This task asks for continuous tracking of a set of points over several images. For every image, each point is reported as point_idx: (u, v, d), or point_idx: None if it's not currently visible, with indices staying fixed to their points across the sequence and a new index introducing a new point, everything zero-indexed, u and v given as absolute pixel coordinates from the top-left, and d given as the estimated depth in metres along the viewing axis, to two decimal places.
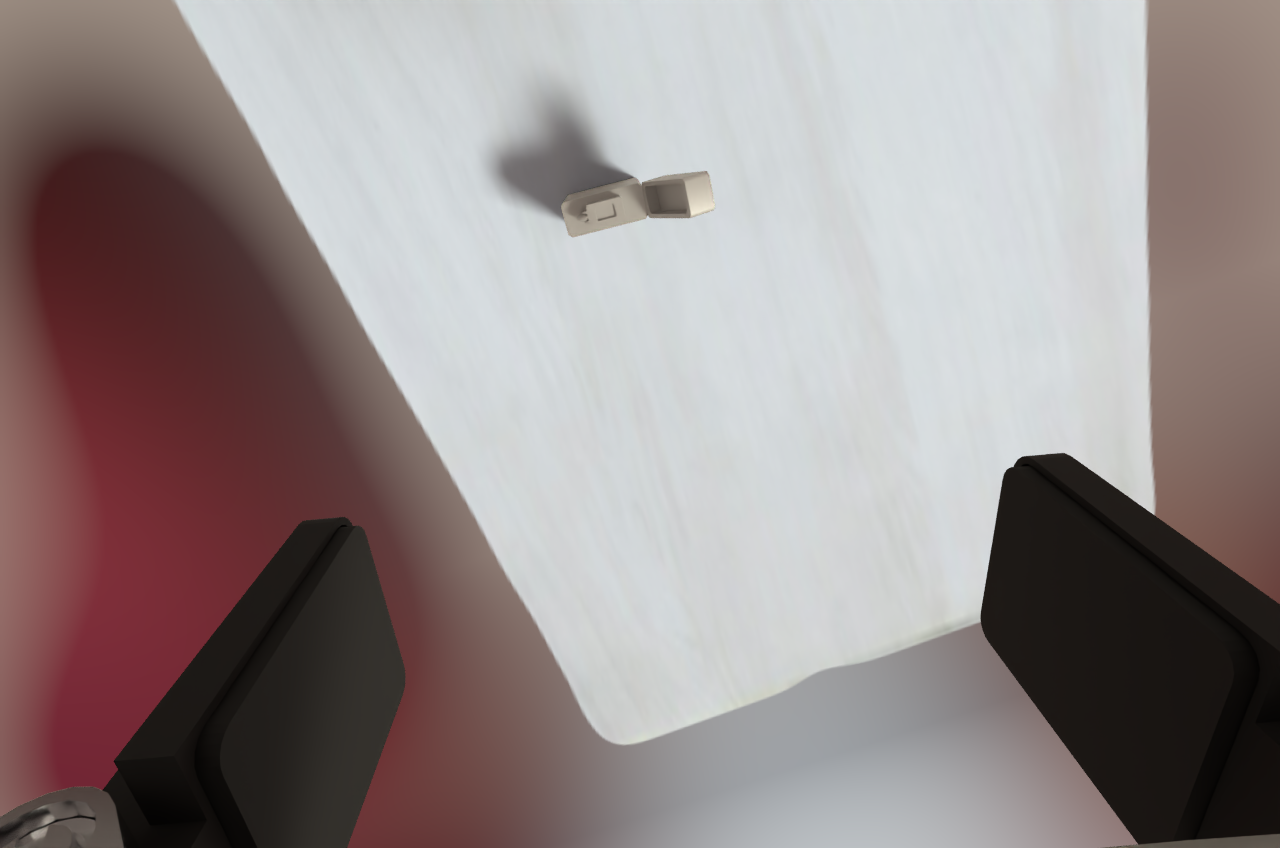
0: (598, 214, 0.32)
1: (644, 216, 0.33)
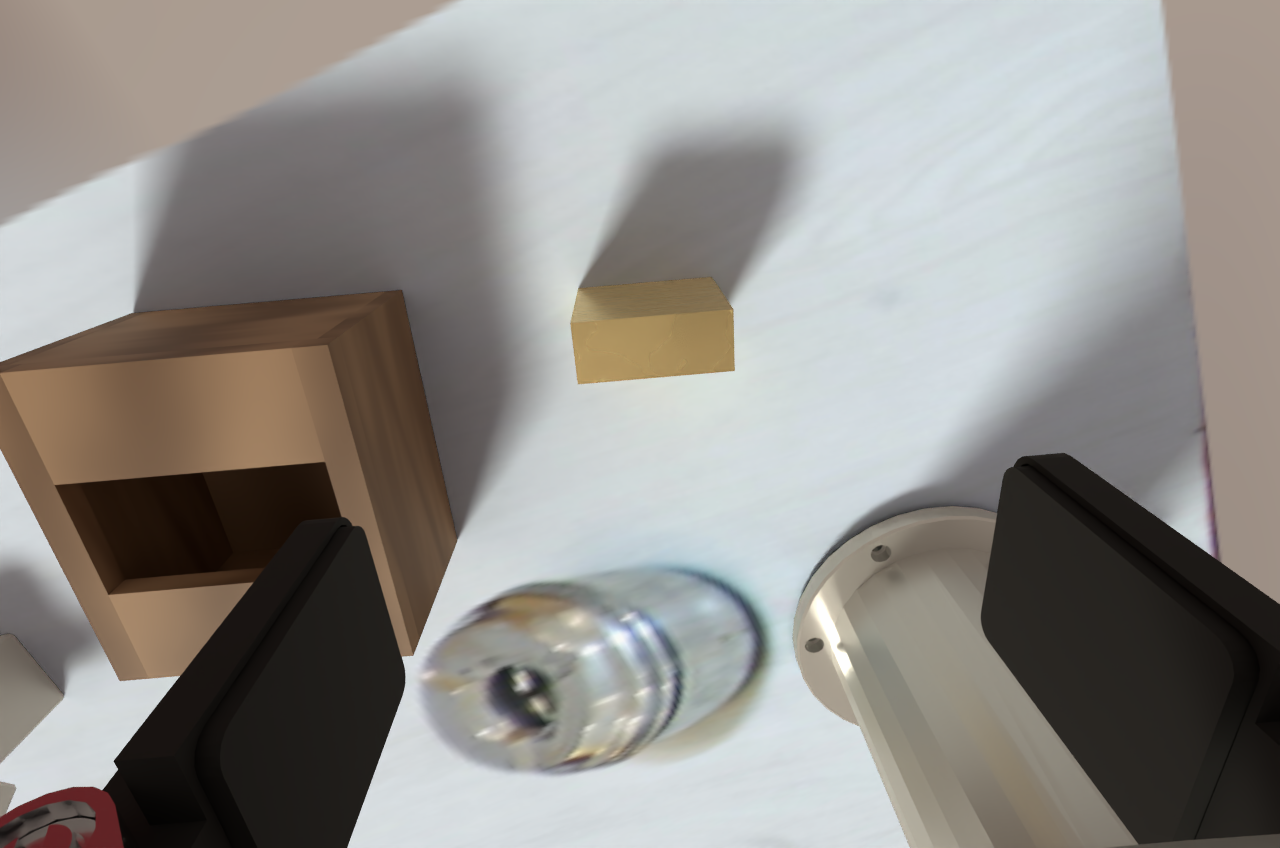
0: None
1: None
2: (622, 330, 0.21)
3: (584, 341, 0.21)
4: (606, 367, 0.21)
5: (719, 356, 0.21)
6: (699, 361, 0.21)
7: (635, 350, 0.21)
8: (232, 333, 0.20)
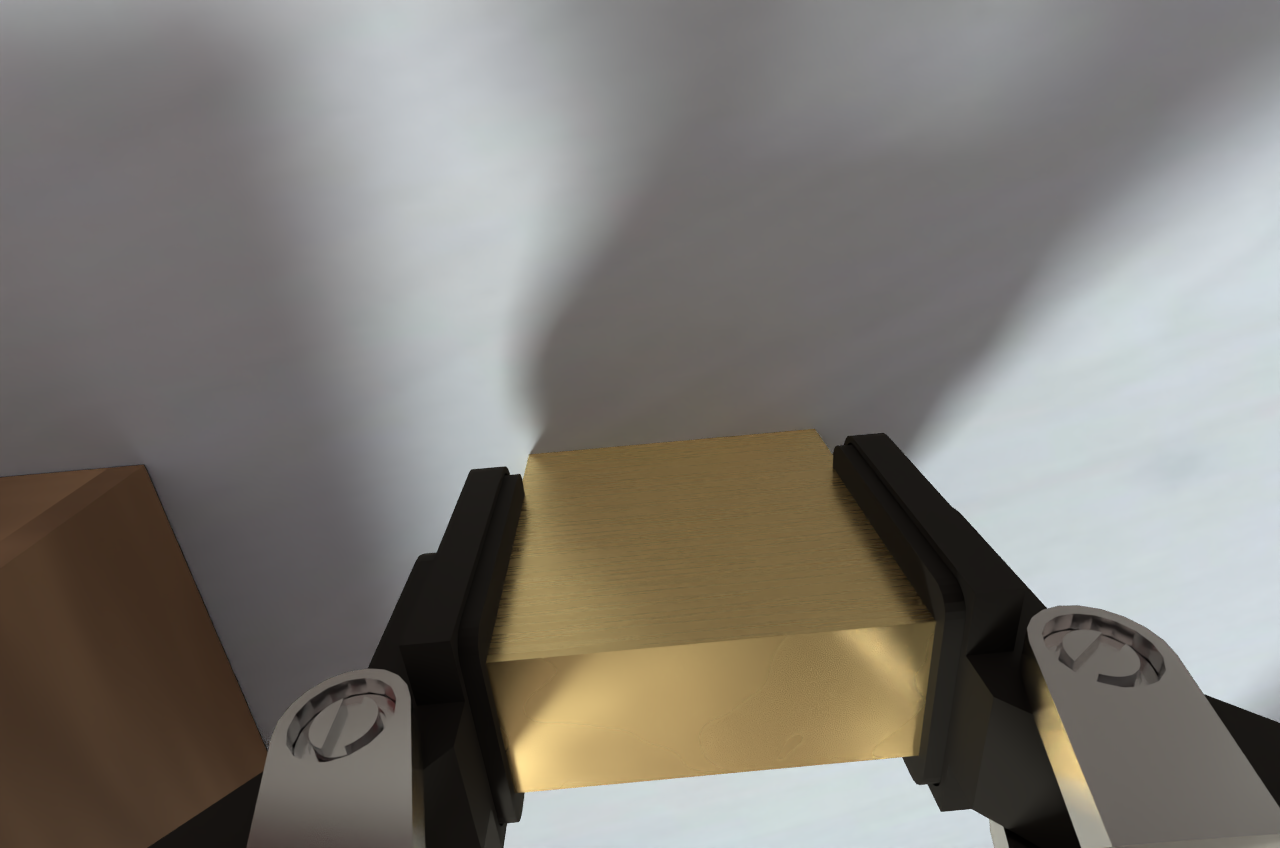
0: None
1: None
2: (627, 676, 0.07)
3: (519, 704, 0.07)
4: (583, 757, 0.08)
5: (892, 726, 0.08)
6: (837, 737, 0.08)
7: (664, 718, 0.07)
8: None
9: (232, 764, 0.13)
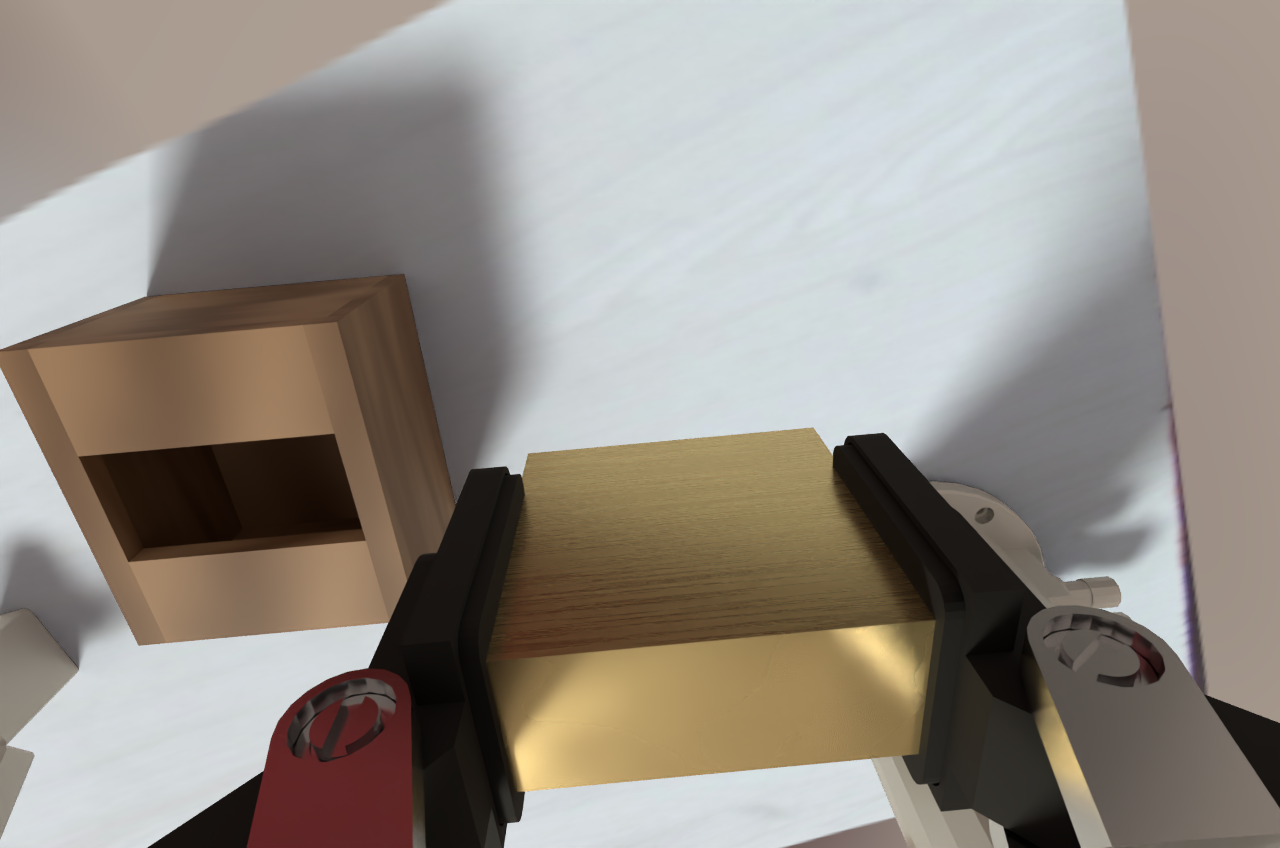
0: None
1: None
2: (626, 676, 0.07)
3: (518, 704, 0.07)
4: (582, 756, 0.08)
5: (891, 724, 0.08)
6: (836, 736, 0.08)
7: (663, 718, 0.07)
8: (245, 313, 0.22)
9: (430, 426, 0.27)
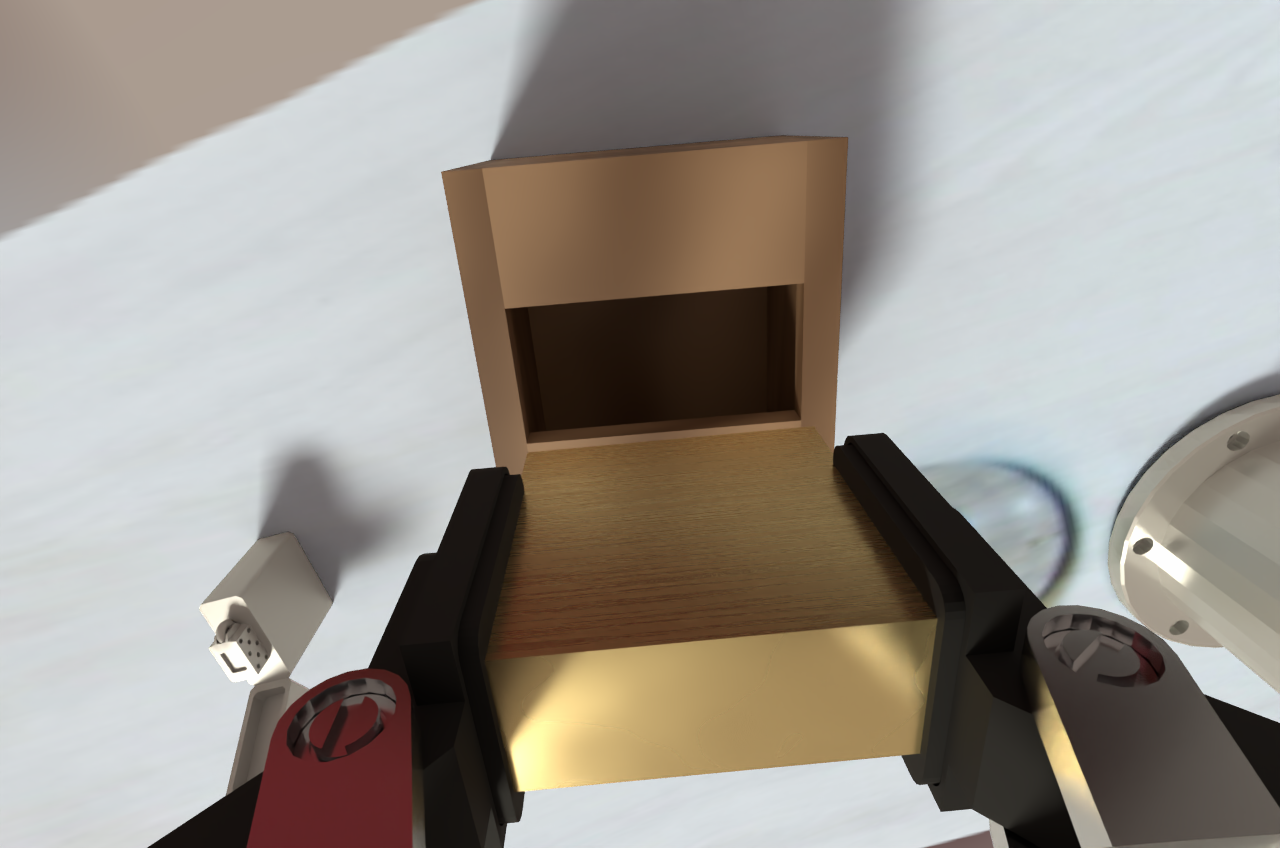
0: (229, 653, 0.24)
1: (252, 682, 0.26)
2: (625, 675, 0.07)
3: (517, 704, 0.07)
4: (581, 756, 0.08)
5: (892, 724, 0.08)
6: (837, 736, 0.08)
7: (663, 717, 0.07)
8: (683, 148, 0.18)
9: None
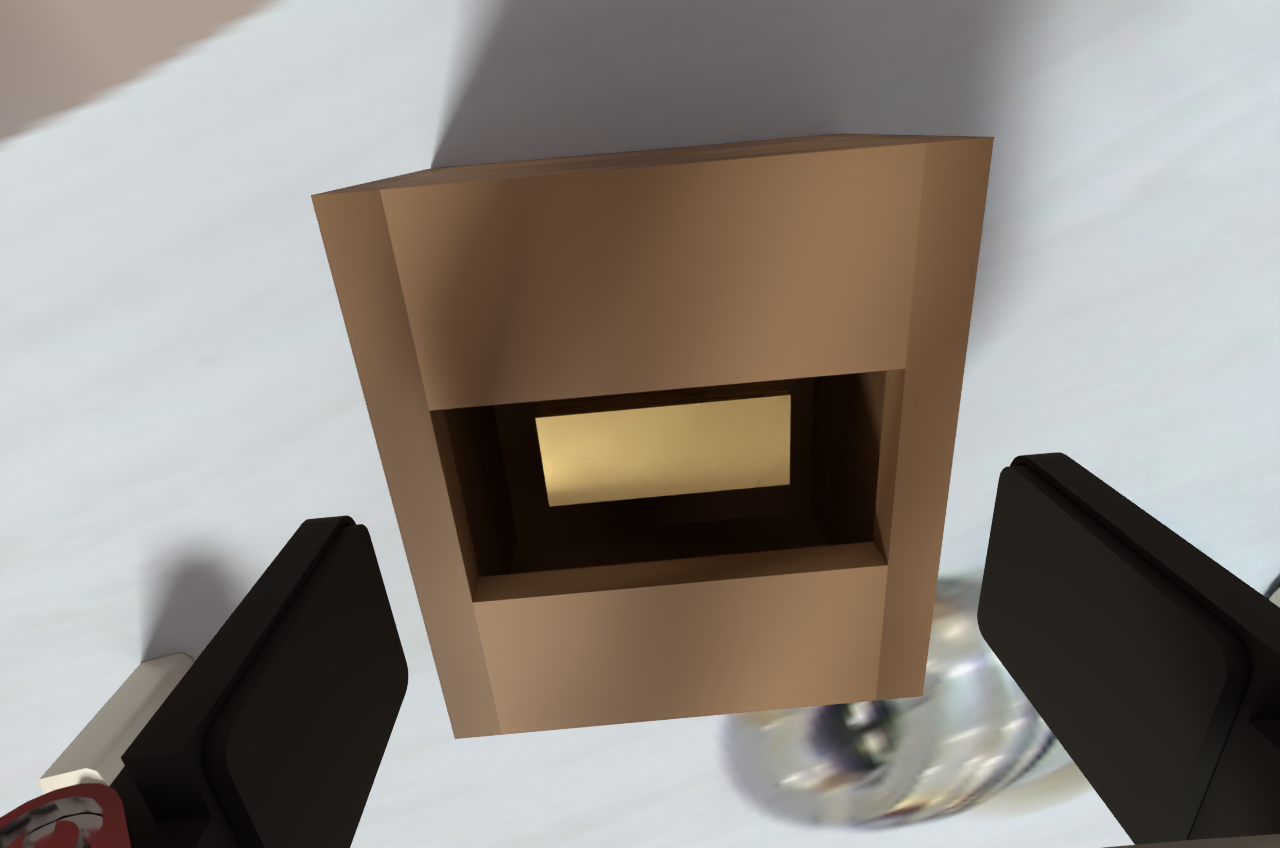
0: None
1: None
2: (617, 428, 0.13)
3: (557, 446, 0.13)
4: (592, 482, 0.14)
5: (767, 464, 0.14)
6: (736, 471, 0.14)
7: (637, 456, 0.13)
8: (710, 153, 0.12)
9: None
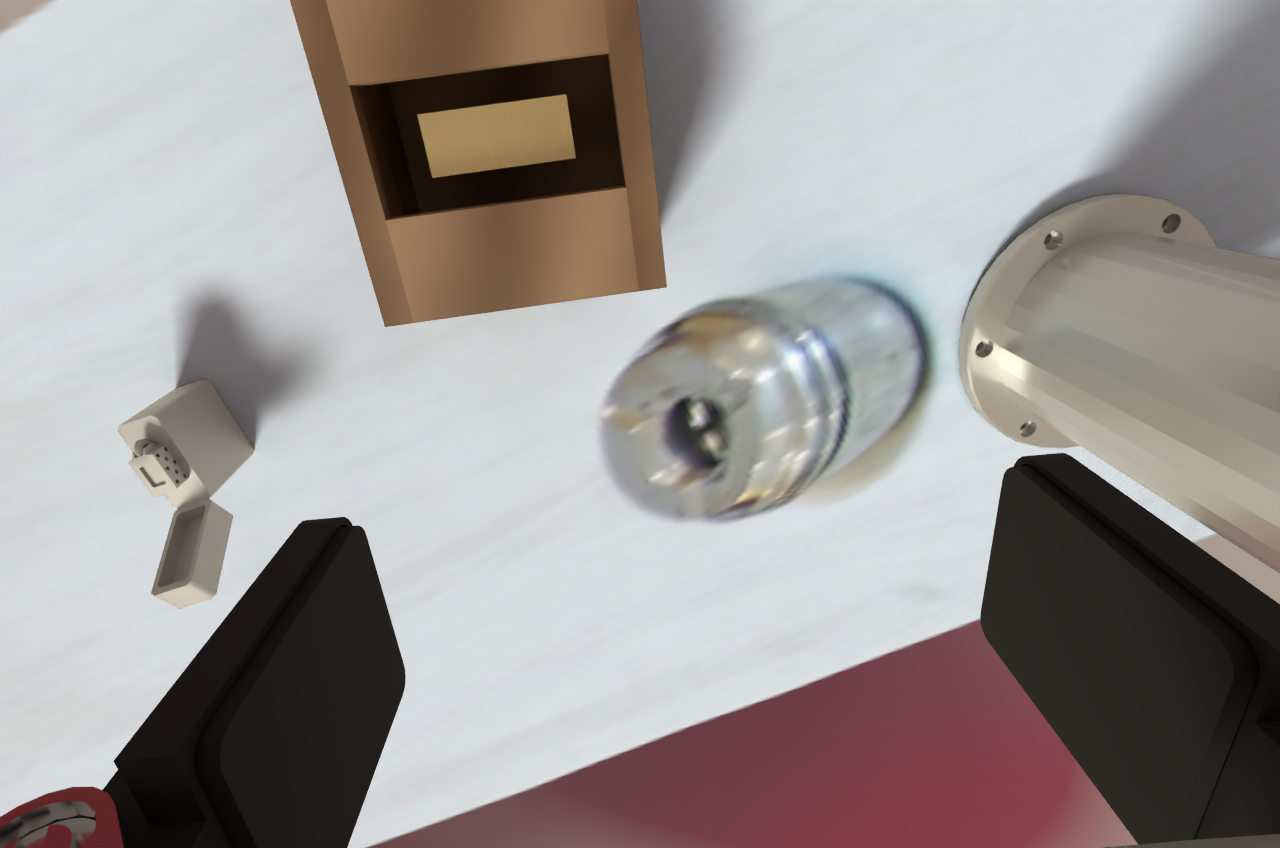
0: (147, 467, 0.27)
1: (175, 505, 0.28)
2: (466, 120, 0.22)
3: (432, 133, 0.22)
4: (456, 159, 0.23)
5: (559, 143, 0.23)
6: (542, 149, 0.23)
7: (481, 140, 0.23)
8: None
9: None
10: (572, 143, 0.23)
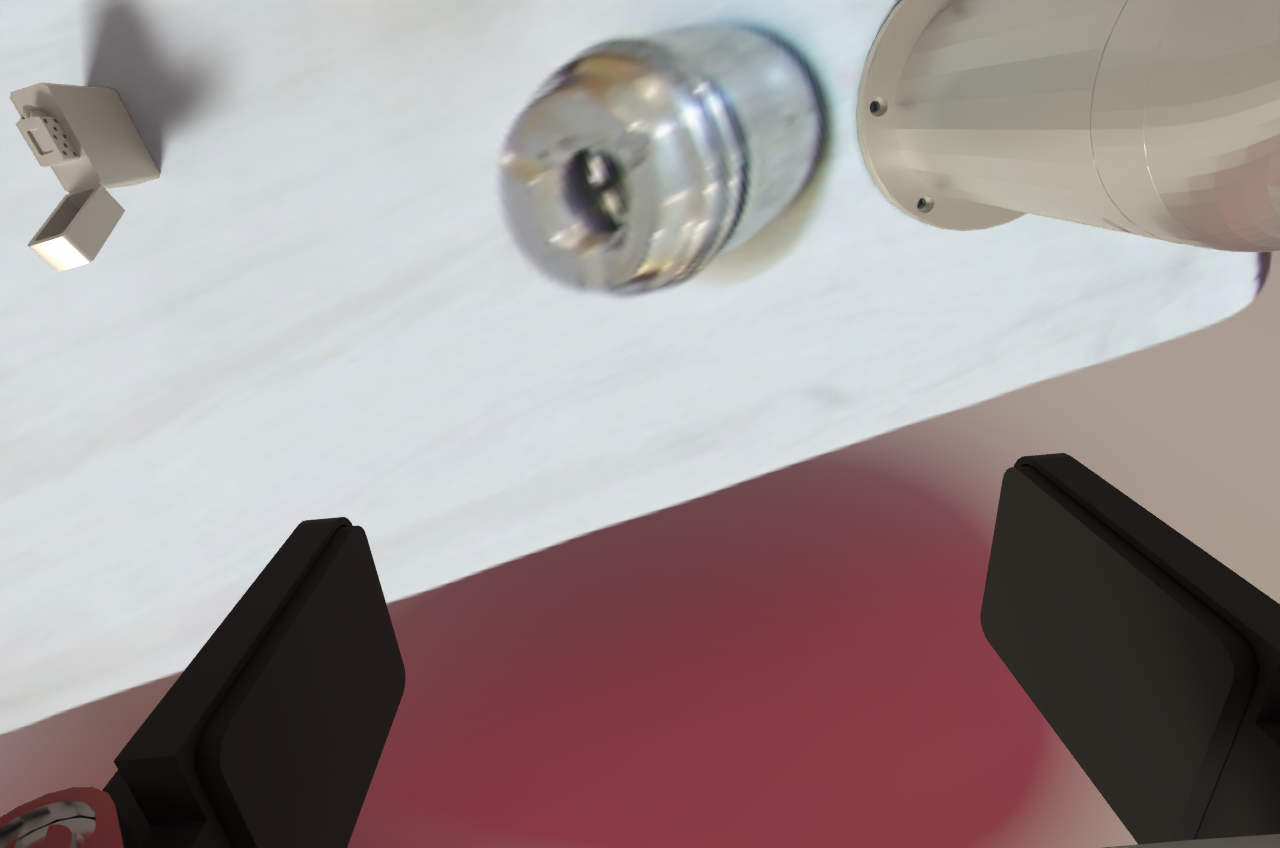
0: (35, 132, 0.28)
1: (66, 188, 0.29)
2: None
3: None
4: None
5: None
6: None
7: None
8: None
9: None
10: None
